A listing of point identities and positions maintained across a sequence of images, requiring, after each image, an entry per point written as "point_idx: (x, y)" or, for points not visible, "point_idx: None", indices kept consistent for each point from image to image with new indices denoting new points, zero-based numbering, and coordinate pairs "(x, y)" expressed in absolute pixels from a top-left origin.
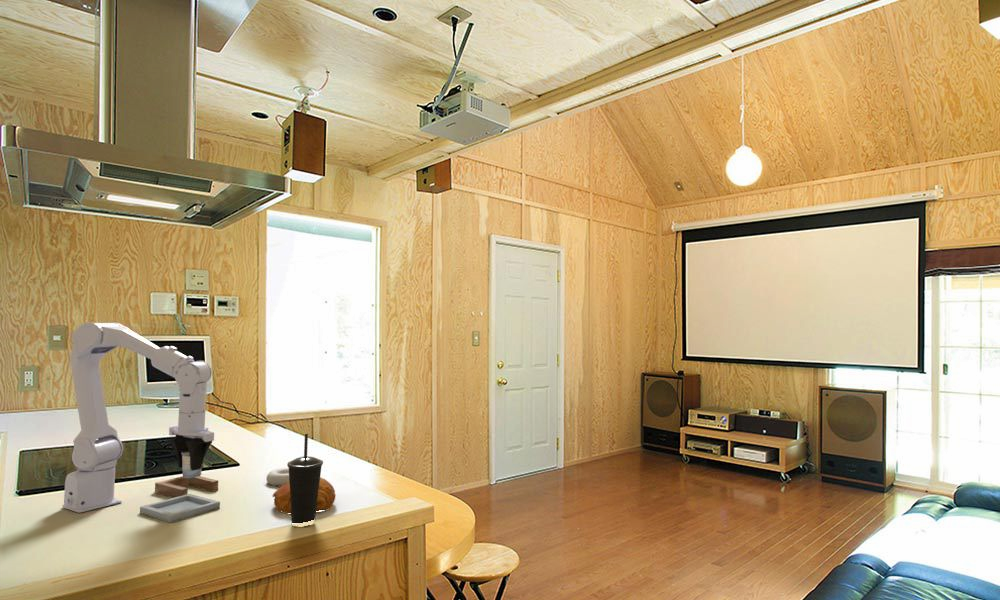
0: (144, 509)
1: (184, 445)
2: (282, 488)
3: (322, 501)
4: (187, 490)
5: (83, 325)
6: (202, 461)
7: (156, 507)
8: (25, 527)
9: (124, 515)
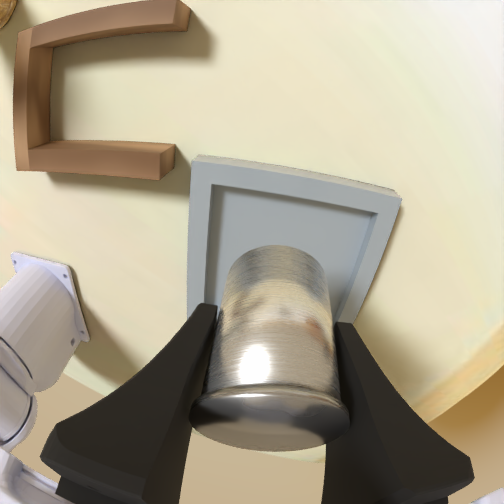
0: None
1: (178, 455)
2: None
3: None
4: (163, 152)
5: None
6: (370, 356)
7: (206, 285)
8: (111, 390)
9: (175, 327)
